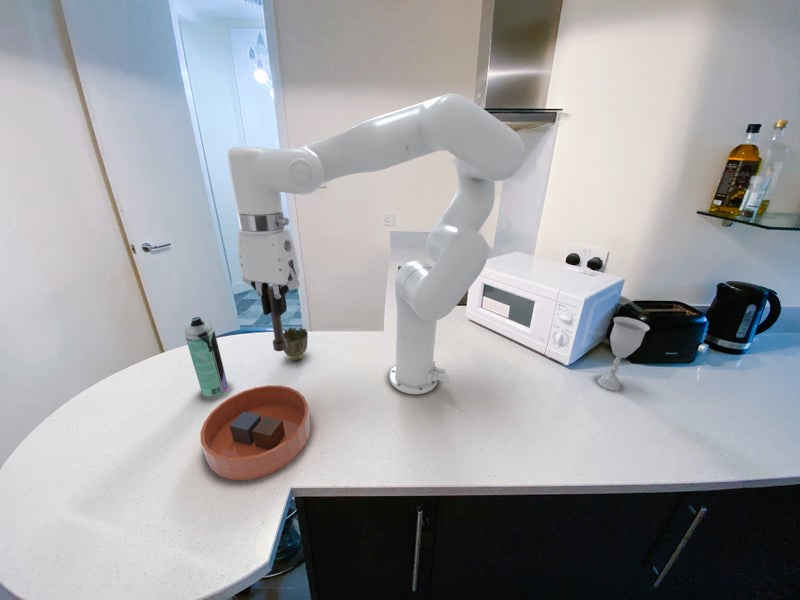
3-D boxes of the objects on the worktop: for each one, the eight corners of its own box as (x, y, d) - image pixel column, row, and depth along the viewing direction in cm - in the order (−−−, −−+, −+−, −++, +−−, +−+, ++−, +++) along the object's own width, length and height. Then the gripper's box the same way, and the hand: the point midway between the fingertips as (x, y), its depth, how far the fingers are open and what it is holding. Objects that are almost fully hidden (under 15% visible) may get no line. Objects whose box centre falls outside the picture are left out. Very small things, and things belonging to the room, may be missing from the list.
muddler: (290, 345, 69) (282, 286, 63) (282, 352, 67) (273, 291, 61) (278, 343, 70) (270, 284, 64) (271, 350, 67) (261, 289, 61)
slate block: (263, 429, 65) (260, 415, 64) (250, 445, 62) (247, 430, 60) (246, 425, 66) (243, 411, 64) (233, 440, 62) (229, 425, 61)
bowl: (326, 413, 70) (324, 394, 68) (275, 494, 53) (270, 472, 51) (251, 397, 75) (247, 378, 72) (182, 467, 57) (174, 446, 55)
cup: (313, 351, 93) (311, 327, 89) (304, 366, 86) (301, 341, 83) (289, 349, 93) (286, 326, 90) (278, 364, 87) (274, 339, 83)
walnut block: (285, 434, 64) (282, 420, 62) (273, 450, 61) (270, 435, 59) (267, 430, 65) (264, 416, 63) (255, 446, 61) (251, 431, 60)
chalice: (589, 383, 83) (610, 323, 75) (596, 372, 87) (616, 314, 80) (622, 396, 78) (647, 334, 71) (627, 384, 83) (651, 324, 75)
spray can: (233, 387, 78) (216, 315, 69) (215, 402, 73) (194, 326, 65) (216, 382, 79) (197, 311, 71) (197, 396, 74) (174, 321, 66)
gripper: (311, 222, 59) (319, 310, 66) (239, 216, 62) (254, 300, 70) (288, 229, 52) (300, 327, 60) (209, 222, 56) (229, 315, 63)
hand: (275, 312), depth 65 cm, fingers closed on muddler
